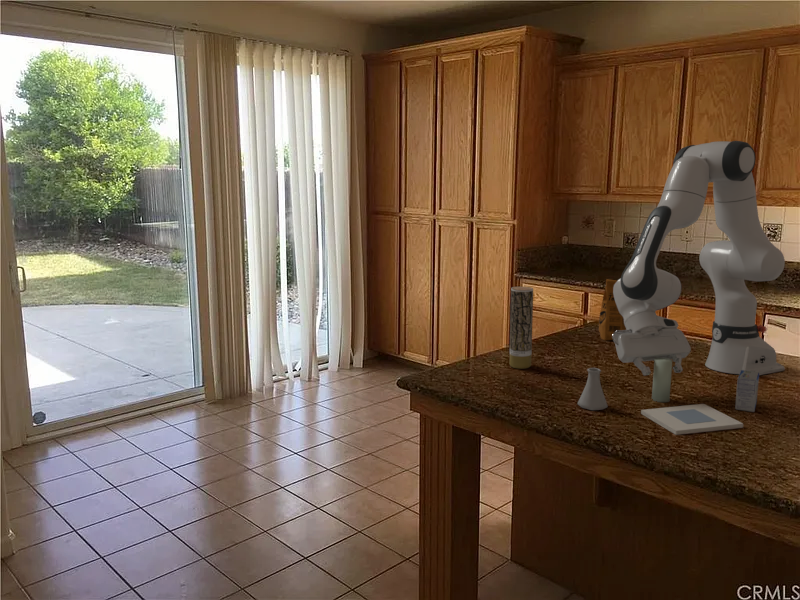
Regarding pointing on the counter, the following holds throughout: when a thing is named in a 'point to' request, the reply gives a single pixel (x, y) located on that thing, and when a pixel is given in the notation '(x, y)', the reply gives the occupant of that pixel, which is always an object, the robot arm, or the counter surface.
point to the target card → (691, 419)
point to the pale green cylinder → (662, 379)
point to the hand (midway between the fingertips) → (663, 373)
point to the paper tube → (521, 327)
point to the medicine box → (747, 390)
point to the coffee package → (609, 314)
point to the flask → (593, 392)
